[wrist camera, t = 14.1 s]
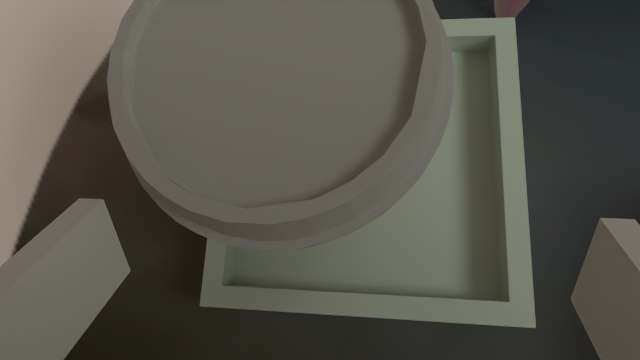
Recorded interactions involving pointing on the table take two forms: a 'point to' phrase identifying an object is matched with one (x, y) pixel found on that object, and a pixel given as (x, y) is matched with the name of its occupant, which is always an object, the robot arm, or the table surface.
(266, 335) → the table surface
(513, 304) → the tray
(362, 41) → the disposable coffee cup
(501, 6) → the lily
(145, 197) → the table surface
